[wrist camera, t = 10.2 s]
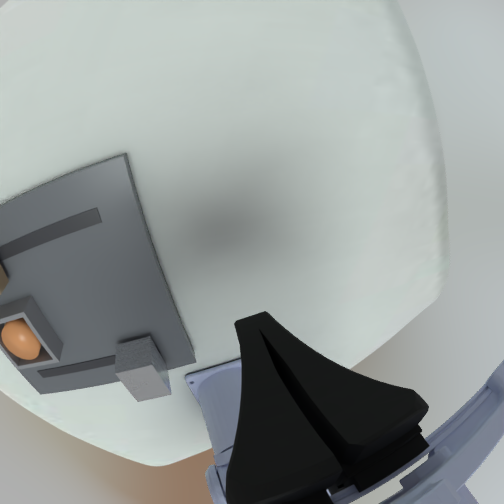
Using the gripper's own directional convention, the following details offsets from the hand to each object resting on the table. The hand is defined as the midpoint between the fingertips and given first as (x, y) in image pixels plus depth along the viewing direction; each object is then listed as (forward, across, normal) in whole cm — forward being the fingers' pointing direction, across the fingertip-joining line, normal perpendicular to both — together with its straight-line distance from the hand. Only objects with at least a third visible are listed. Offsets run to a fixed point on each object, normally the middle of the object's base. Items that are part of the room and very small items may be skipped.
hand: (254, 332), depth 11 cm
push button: (+8, +17, +2) cm, 19 cm away
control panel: (+10, +13, +2) cm, 17 cm away
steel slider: (+8, +8, +8) cm, 14 cm away
